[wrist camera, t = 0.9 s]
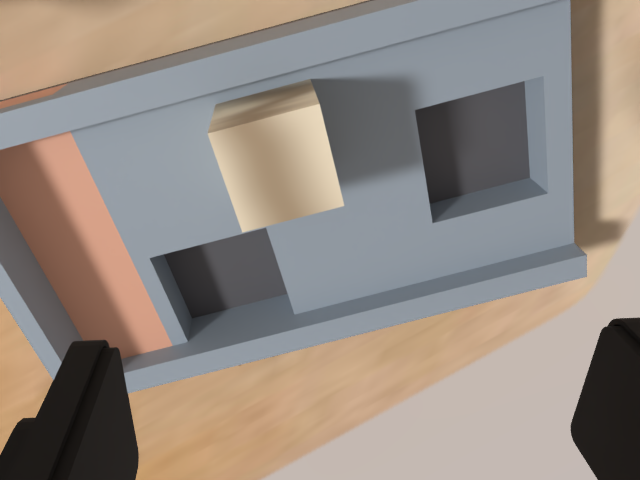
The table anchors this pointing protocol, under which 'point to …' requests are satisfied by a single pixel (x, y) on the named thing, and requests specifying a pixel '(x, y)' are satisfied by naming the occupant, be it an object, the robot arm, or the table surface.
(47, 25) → the table surface
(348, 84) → the box
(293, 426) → the table surface
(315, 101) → the maple block
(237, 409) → the table surface
